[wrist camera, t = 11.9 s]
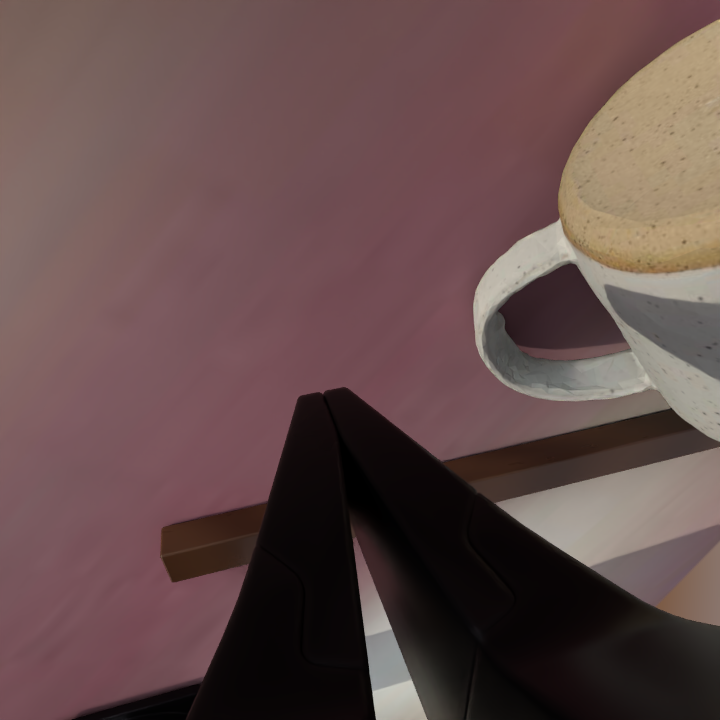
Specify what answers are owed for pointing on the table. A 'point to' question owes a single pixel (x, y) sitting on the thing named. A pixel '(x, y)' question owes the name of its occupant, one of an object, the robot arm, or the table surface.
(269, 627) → the robot arm
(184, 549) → the brown wooden flat frame
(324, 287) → the table surface
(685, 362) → the ceramic mug
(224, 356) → the table surface
